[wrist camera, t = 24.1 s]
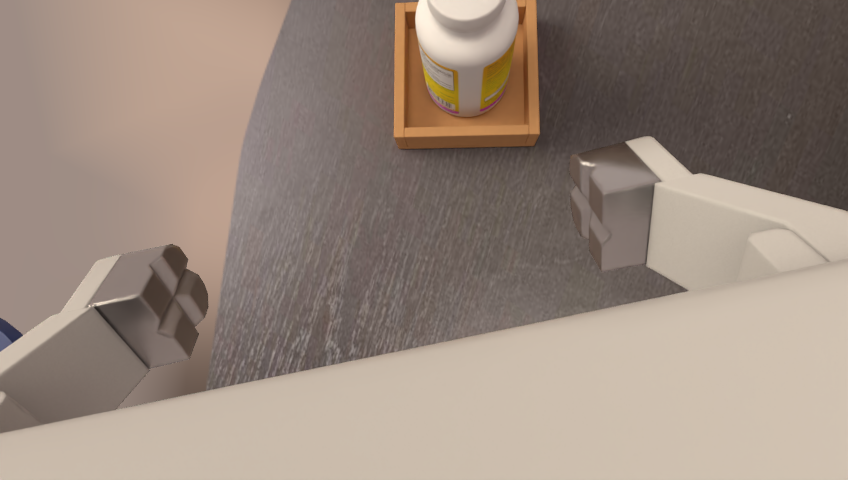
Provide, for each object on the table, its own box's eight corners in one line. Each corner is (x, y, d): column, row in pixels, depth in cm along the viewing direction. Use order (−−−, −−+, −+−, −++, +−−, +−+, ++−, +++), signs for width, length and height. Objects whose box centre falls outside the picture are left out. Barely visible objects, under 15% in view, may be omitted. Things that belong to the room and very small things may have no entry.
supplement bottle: (506, 41, 41) (526, -76, 28) (507, 119, 40) (528, 34, 27) (426, 44, 41) (409, -70, 28) (425, 120, 40) (408, 38, 28)
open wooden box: (398, 149, 41) (393, 137, 38) (400, 23, 42) (395, 2, 39) (534, 146, 40) (539, 134, 37) (531, 18, 41) (536, -4, 38)
